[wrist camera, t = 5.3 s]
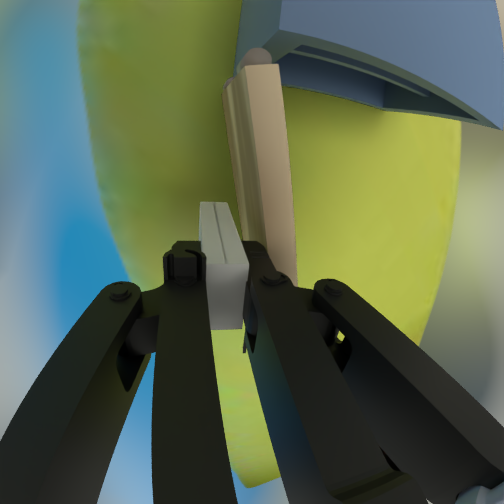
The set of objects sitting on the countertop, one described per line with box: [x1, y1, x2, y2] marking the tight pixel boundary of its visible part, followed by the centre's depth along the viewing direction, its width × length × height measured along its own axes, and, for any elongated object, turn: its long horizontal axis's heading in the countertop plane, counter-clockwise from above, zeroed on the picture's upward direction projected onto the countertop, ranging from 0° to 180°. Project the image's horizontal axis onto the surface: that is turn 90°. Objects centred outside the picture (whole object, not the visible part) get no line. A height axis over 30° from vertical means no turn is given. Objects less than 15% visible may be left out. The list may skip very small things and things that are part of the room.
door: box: [221, 48, 298, 287], centre depth 16 cm, size 1×15×11 cm, turn 7°
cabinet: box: [233, 0, 504, 131], centre depth 11 cm, size 12×14×13 cm
